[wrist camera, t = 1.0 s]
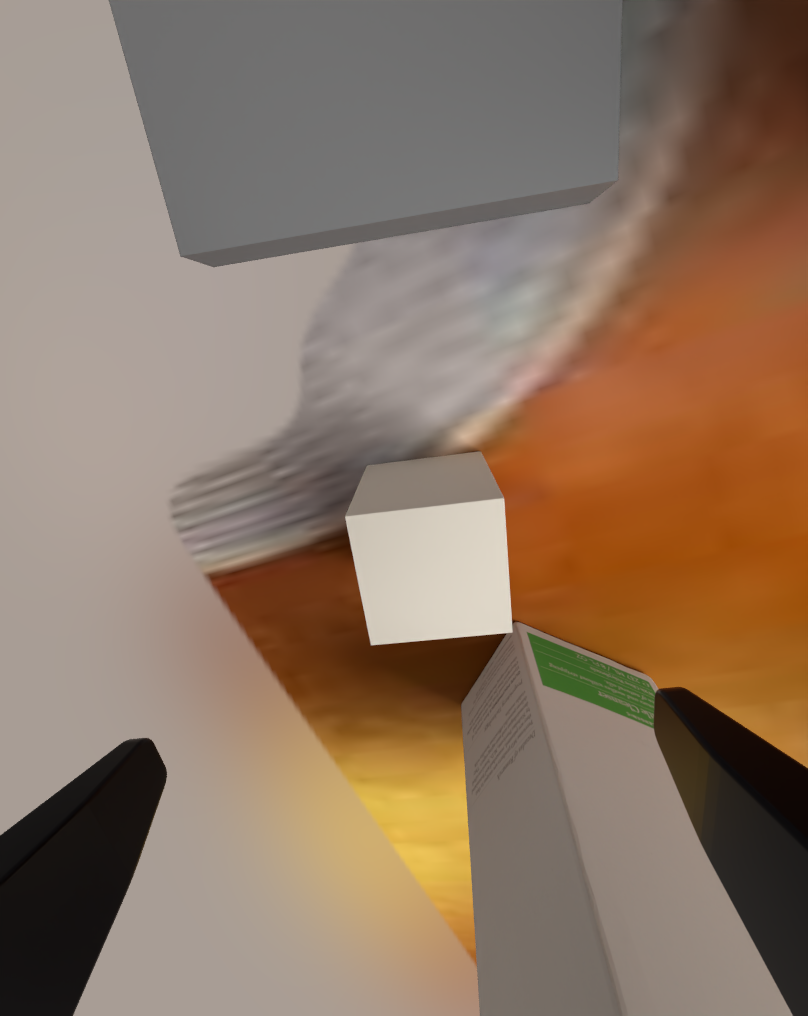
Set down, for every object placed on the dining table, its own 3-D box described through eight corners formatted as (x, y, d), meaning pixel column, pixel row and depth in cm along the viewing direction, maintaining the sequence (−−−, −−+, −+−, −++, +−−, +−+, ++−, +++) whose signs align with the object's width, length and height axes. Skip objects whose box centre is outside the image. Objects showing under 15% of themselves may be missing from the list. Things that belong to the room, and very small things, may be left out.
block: (480, 450, 19) (503, 498, 14) (488, 553, 21) (512, 632, 16) (366, 465, 20) (345, 516, 14) (384, 564, 22) (370, 645, 16)
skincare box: (651, 673, 23) (1036, 1245, 9) (582, 757, 25) (795, 1321, 11) (507, 615, 22) (668, 1145, 8) (449, 707, 24) (488, 1250, 10)
